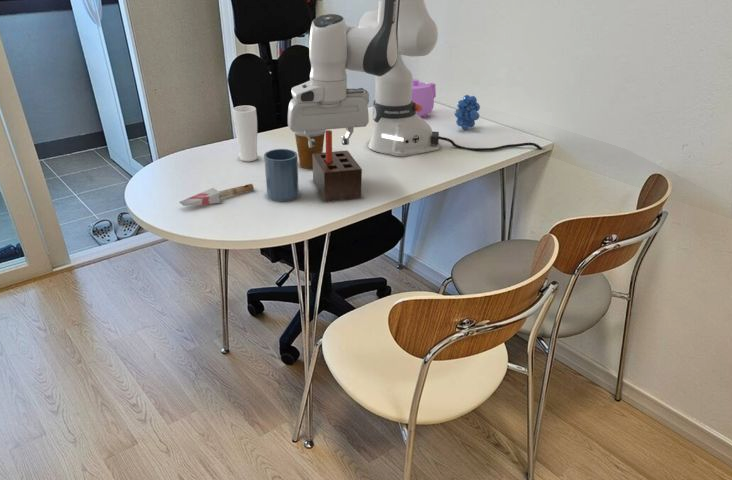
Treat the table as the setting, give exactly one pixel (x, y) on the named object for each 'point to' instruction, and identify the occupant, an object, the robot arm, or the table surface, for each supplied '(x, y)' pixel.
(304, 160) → the disposable coffee cup
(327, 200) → the caddy
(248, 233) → the table surface
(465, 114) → the grapes
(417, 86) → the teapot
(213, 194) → the grey and wooden tool
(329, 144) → the straw
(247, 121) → the drinking glass
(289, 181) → the tumbler
